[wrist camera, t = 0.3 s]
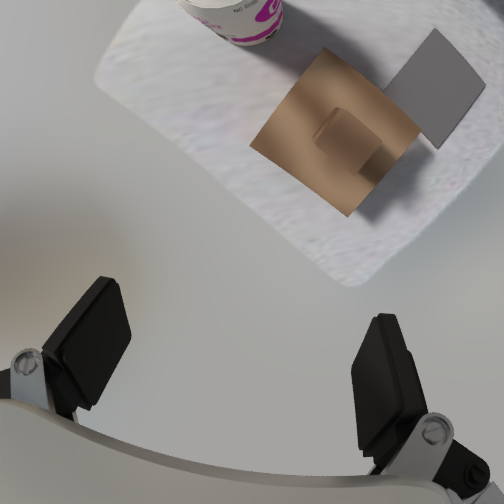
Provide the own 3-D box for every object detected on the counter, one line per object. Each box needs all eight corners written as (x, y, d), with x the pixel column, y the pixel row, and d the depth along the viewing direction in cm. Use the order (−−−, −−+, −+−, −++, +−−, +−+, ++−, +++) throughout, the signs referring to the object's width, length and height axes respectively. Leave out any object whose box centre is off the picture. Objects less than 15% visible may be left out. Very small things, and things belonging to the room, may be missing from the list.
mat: (434, 28, 22) (435, 28, 22) (484, 84, 24) (485, 84, 24) (381, 93, 29) (382, 93, 28) (436, 147, 31) (437, 148, 30)
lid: (323, 48, 23) (332, 35, 17) (419, 129, 26) (447, 139, 20) (250, 144, 29) (239, 157, 24) (346, 214, 32) (357, 243, 26)
